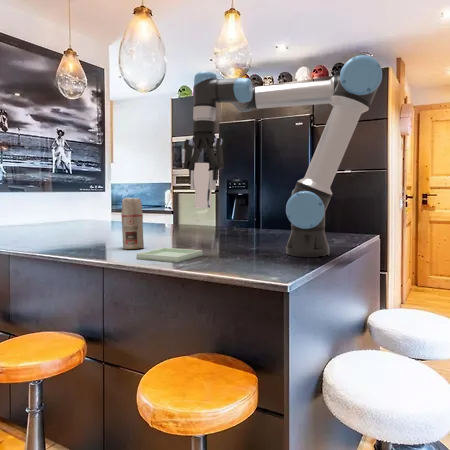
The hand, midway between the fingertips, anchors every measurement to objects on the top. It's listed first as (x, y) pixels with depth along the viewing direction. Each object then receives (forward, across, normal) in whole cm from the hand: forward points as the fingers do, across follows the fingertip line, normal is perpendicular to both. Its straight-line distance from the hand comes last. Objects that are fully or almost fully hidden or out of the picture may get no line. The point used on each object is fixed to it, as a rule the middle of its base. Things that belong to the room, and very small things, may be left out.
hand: (203, 189), depth 139 cm
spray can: (+24, +33, -4) cm, 41 cm away
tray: (+23, +8, +7) cm, 26 cm away
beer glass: (+6, 0, 0) cm, 6 cm away
